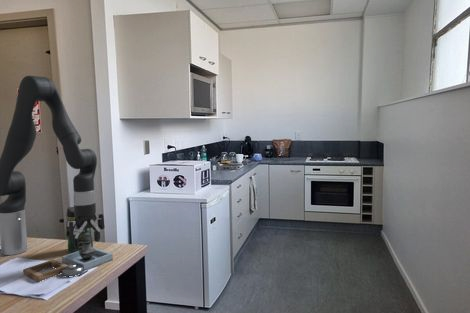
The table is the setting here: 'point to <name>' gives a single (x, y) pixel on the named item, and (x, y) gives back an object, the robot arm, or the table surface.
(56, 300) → the table surface
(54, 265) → the wooden square frame
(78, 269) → the grey knobbed lid
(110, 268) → the table surface
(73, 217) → the coffee jar
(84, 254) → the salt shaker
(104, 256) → the tray
